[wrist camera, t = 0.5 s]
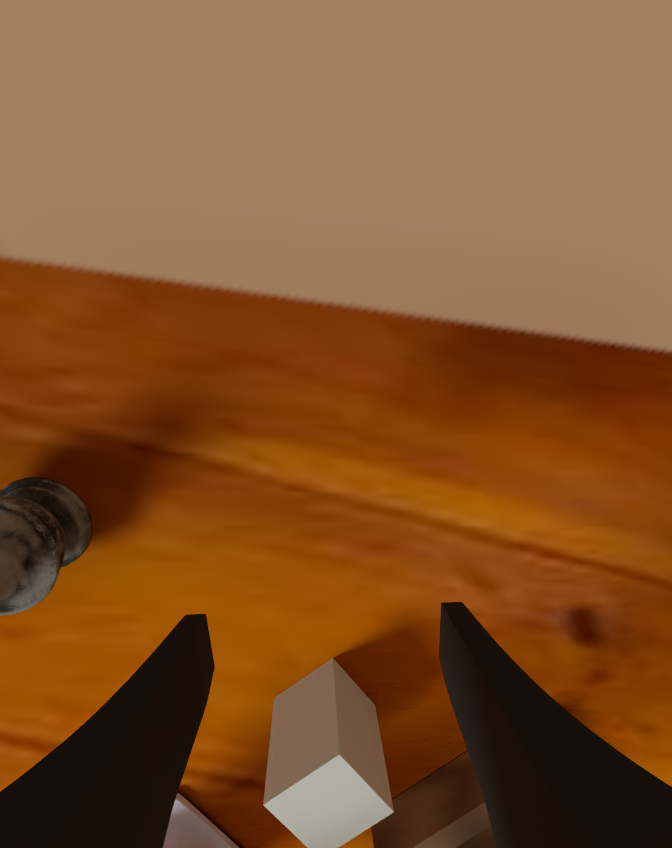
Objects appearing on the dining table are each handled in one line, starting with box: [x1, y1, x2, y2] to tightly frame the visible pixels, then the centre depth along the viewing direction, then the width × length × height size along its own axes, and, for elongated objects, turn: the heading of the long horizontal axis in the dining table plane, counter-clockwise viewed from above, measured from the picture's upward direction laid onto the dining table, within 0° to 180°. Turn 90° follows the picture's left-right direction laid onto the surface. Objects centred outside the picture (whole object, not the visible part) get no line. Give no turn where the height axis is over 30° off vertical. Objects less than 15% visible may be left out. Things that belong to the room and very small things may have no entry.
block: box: [263, 658, 394, 848], centre depth 23 cm, size 4×4×6 cm
